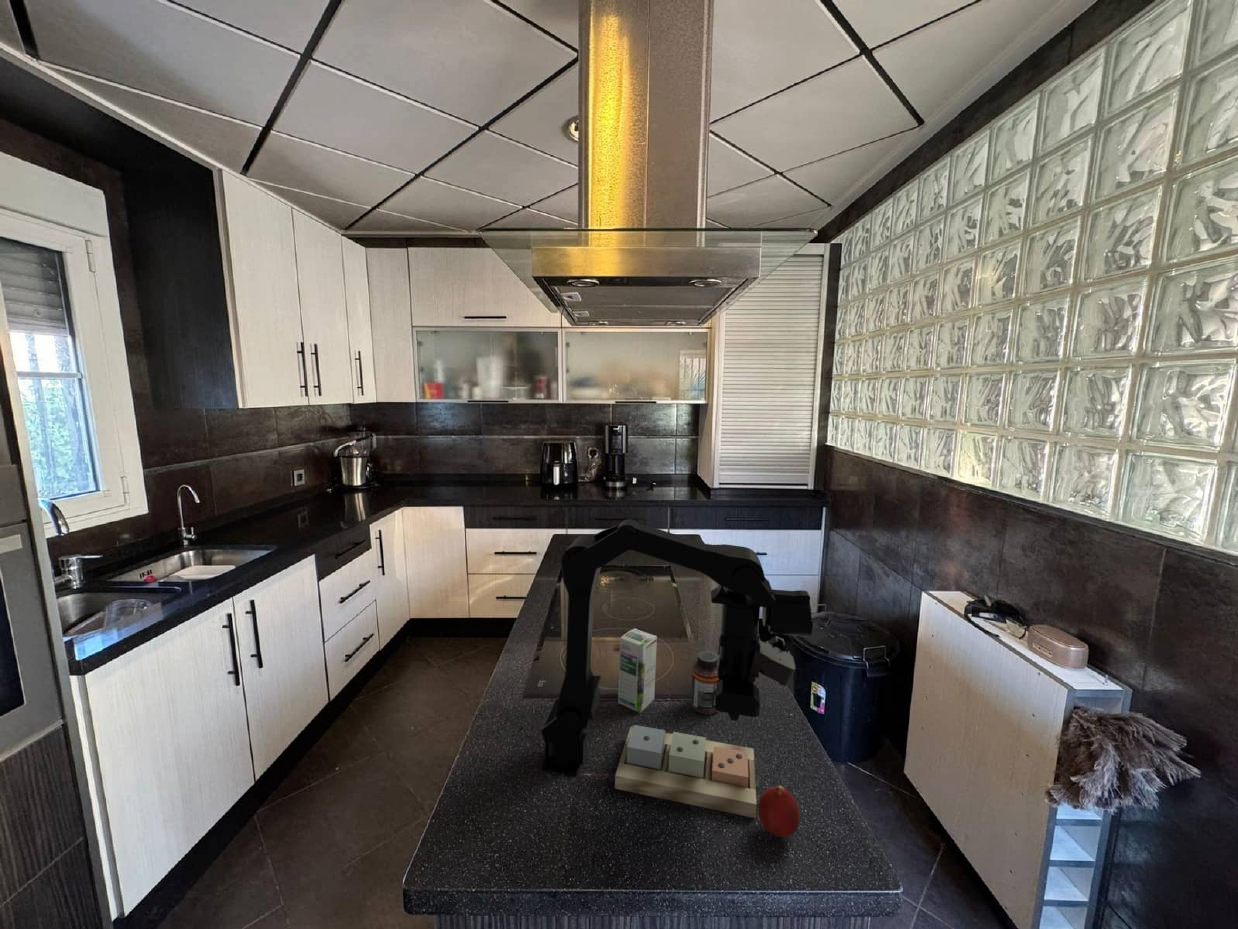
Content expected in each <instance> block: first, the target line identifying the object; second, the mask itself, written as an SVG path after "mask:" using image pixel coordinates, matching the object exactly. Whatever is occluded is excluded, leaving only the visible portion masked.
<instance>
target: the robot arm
mask: <svg viewBox="0 0 1238 929" xmlns="http://www.w3.org/2000/svg"><path fill="white" fill-rule="evenodd" d="M628 551H633V552H636V553H639V554H642V555H645V556H649V557H652V558H656V559H658V560H661V561H663V562H667V563H670V564H671V563H672V564H674V565H678V566H680V567H683V568H687V569H690V570H693V571H696V572H699V573H702V574H703V575H705V576H706V577H708V578H709V579H711V580H712V581H713V582H715V583H716V584H718V586H717V587H715V588H714V589H712V590H711V591H710V601H711V604H719V605H722V607H721V621H720V636H719V638H718V650H717V656H718V657H719V658H718V664H719V666H718V678H719V680H717V683H716V697H715V709H716V710H718V711H717V712H720V713H725V714H728V716H729V720H730V721H735V722H738V720H739V718H740V716H744V717H751V718H757V717H759V716H760V712H761V711H760V709H761V700H760V689H759V688H758V687H757V685H756V684H755V683H754V682H755V681H756V680H757V679H759V678H760V674H761V675H763V676H765V677H766V678H769V679H771V680H773V681H774V682H778V684H779V685H780V686H783V687H784V686H785V687H786V686H788V684H789V682H790V681H791V678H792V677H793V674H794V672H795V670H796V663H795V659H794V656H793V655H792V654H791V651H789V650H786V644H785V639H784V638H781V637H779V636H777V635H783V636H785V635H786V636H793V637H794V636H796V637H803V638H804V637H806V638H811V636H812V633H813V627H814V621H813V618H812V608H811V596H810V594H809V592H808V591H807V590H799V589H798V590H782V589H772V588H773V587H772V586H771V583H770V580H769V579H767V578H766V576H765V572H764V568H763V567H762V563H761V560H760V559H759V556H758V555H757V553H756V552H755V551H754V550H753V549H752V548H749V547H745V546H741V545H734V544H733V545H732V544H712V543H711V544H709V543H704V542H701V541H698V540H694V539H692V538H688V537H685V536H682V535H678V534H675V533H672V532H668V531H666V530H663V529H659V528H656V527H653V526H650V525H646V524H644V523H640V522H639V521H637V520H635V519H633V518H632V519H631V518H628V519H624V520H623V521H622V522H620V523H618V524H616V525H614V526H611V527H609V528H606V529H603V530H601V531H599V532H598V533H596V534H593V535H589V534H587V535H586V534H585V535H583V534H582V535H581V536H578V537H577V538H575V539H574V540H573V542H571V544H570V546H568V547H567V548H566V550H565V551H564V552H563V554H562V557H561V559H560V567H561V574H562V581H563V585H564V587H565V589H566V593H567V597H568V604H567V608H568V609H567V623H566V624H567V629H566V651H565V653H566V654H565V672H564V678H563V681H562V682H563V683H562V685H561V689H560V692H559V696H558V697H556V699H555V700H554V702H553V705H552V707H551V709H550V711H549V713H548V715H547V717H546V720H545V721H544V724H543V726H542V729H541V731H540V732H541V735H542V738H543V741H544V757H543V760H542V762H541V764H540V768H541V769H543V770H547V771H551V772H556V773H562V774H566V775H572V776H576V775H578V774H579V771H580V768H581V766H582V765H584V763H585V760H586V758H587V756H588V734H587V732H585V731H586V730H585V729H586V728H587V727H588V724H589V722H590V720H594V716H595V714H596V711H597V707H598V703H599V701H600V698H601V692H600V683H601V678H602V676H601V675H594V674H593V672H592V668H591V663H592V662H591V661H592V659H591V658H592V646H593V644H592V643H593V623H594V605H595V604H594V602H595V591H596V588H597V587H596V586H597V584H598V580H599V576H600V573H601V569H602V568H603V567H604V566H605V565H607V564H608V563H610V562H612V561H613V560H615V559H616V558H618V557H620V556H621V555H622V554H624V553H626V552H628ZM761 608H762V610H761ZM761 611H762V614H761V615H762V616H761V617H762V618H761V619H762V625H763V627H768V632H770V634H773V635H775V636H773V637H772V638H771V639H769V640H766V641H765V642H764V641H761V640H760V633H759V626H760V612H761ZM756 678H757V679H756Z"/></svg>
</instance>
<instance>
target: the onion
mask: <svg viewBox="0 0 1238 929" xmlns="http://www.w3.org/2000/svg"><path fill="white" fill-rule="evenodd" d="M757 807H758V808H757V810H758V811H757V813H758V817H759V820H760V822H761V825H762V826H763V828H765V829H766V831H768V833H770V834H771V835H773V836H775V837H778V838H779V837H780V838H787V837H789V836H792V835H793V834H795V833H796V832H797V830H798V829H799V826H800V822H801V821H800V820H801V809H800V807H799V805H798V802H797V800H796V798H795V796H793V794H792V793H791V792H790V791H789V790H787V789H786V788H784V787H783V786H782V785H777V786H771V787H769V788H767V789H766V790H764V791H763V793H762V794H761V795H760V798H759V801H758V805H757Z"/></svg>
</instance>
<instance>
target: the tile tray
mask: <svg viewBox="0 0 1238 929" xmlns="http://www.w3.org/2000/svg"><path fill="white" fill-rule="evenodd" d="M632 729H633V726H630V727H629V730H628V734H627V736H626V740H625V743H624V746H623V749H622V753H621V756H620V759H619V761H618V762H619V763H618V766H617V768H616V772H615V774H614V789H616V790H619V791H624V792H630V793H633V794H638V795H643V796H649V797H654V798H658V799H663V800H668V801H671V802H672V801H673V802H677V803H682V804H686V805H691V806H696V807H699V808H700V807H701V808H706V809H711V810H715V811H721V812H726V813H730V814H734V815H738V816H744V817H748V818H754V819H756V814H757V790H756V789H757V788H756V770H755V752H754V750H755V749H754V748H752V747H747V746H741V745H736V744H731V743H730V744H729V743H725V742H720V741H714V740H707V739H706V745H705V760H704V772H703V778H701V777H696V776H690V775H685V774H680V773H675V772H670V771H668V770H669V753H670V747H671V742H672V736H673V733H669V732H665V747H664V752H663V757H662V762H661V767H660V769H655V768H650V767H645V766H640V765H635V764H629V763H627V746H628V743H629V739H630V736H631V733H632ZM714 746H716V747H721V748H727V749H732V750H738V751H743V752H748V788H744V787H739V786H734V785H729V784H724V783H719V782H714V781H712V768H713V751H714Z"/></svg>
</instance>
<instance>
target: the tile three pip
mask: <svg viewBox="0 0 1238 929" xmlns="http://www.w3.org/2000/svg"><path fill="white" fill-rule="evenodd" d="M712 781H714V782H719V783H724V784H729V785H734V786H739V787H744V788H748V752H743V751H738V750H732V749H727V748H721V747H716V746H714V751H713V768H712Z"/></svg>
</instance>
